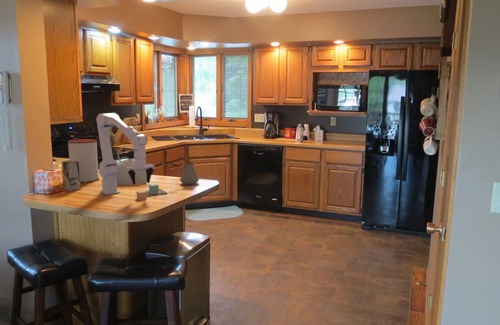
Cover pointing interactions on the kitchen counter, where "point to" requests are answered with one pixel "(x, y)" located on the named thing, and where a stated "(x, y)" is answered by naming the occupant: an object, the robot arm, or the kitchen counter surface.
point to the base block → (153, 188)
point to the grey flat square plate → (156, 193)
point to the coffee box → (71, 175)
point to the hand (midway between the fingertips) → (141, 183)
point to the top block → (141, 195)
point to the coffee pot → (188, 173)
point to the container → (85, 158)
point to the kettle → (124, 176)
